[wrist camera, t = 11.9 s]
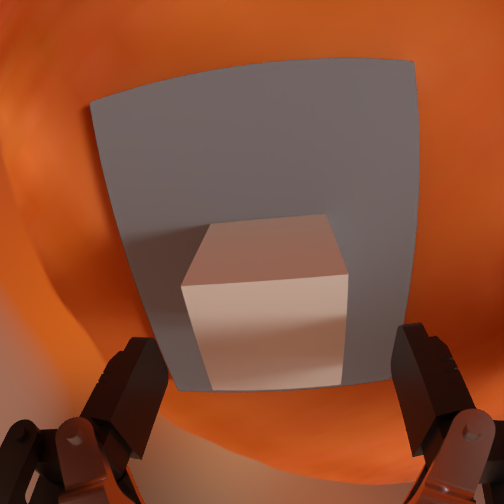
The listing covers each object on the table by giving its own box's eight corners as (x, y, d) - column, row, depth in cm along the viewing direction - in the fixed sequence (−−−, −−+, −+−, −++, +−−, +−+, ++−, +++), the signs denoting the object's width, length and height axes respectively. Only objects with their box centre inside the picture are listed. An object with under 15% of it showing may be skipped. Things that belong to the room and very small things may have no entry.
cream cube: (325, 213, 13) (348, 274, 9) (327, 308, 16) (340, 384, 11) (210, 223, 14) (180, 286, 10) (228, 314, 16) (212, 390, 12)
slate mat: (404, 63, 11) (414, 61, 10) (387, 368, 19) (390, 379, 18) (100, 101, 13) (89, 102, 12) (181, 380, 21) (178, 391, 20)
